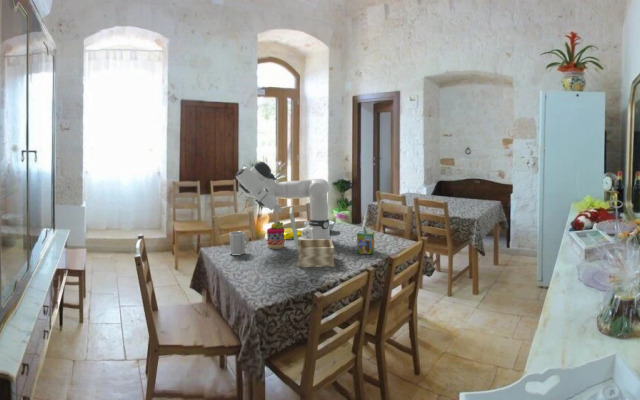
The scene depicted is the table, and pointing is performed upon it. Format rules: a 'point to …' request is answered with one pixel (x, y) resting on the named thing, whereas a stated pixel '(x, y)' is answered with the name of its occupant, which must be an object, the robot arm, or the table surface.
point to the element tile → (291, 233)
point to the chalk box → (365, 242)
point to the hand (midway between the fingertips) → (281, 211)
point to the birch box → (315, 253)
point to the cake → (276, 236)
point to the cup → (238, 242)
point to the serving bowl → (331, 225)
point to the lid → (293, 227)
